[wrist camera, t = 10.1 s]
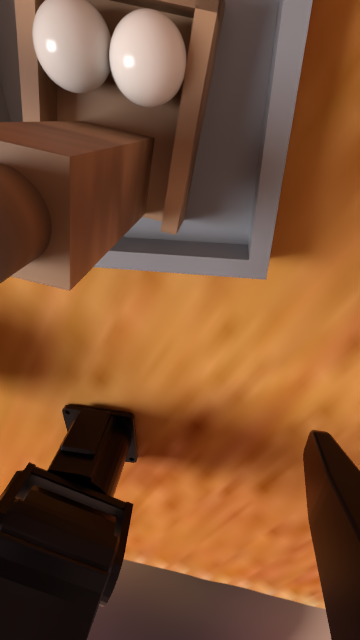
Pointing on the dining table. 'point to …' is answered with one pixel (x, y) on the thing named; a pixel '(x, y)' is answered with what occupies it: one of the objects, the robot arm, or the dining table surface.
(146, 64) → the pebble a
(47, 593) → the robot arm
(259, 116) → the bin
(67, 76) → the white round ball
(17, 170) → the brown wooden box
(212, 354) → the dining table surface
